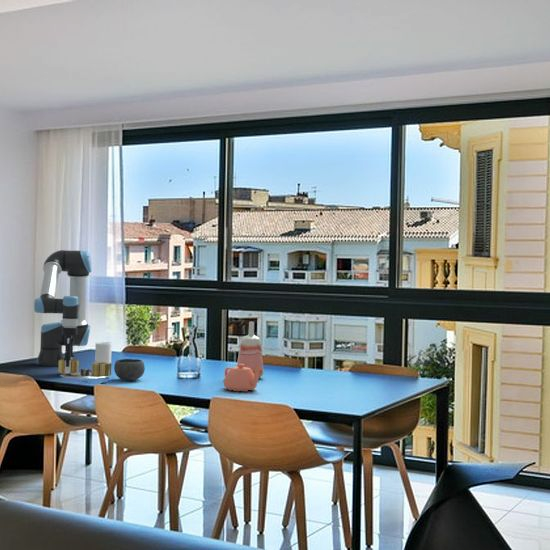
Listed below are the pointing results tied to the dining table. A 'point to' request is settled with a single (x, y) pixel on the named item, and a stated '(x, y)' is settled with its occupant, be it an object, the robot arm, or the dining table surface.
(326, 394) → the dining table surface
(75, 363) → the gear
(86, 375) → the carrier
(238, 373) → the teapot
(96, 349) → the cup
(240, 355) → the pink squeeze bottle
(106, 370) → the seated gear
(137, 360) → the bowl
